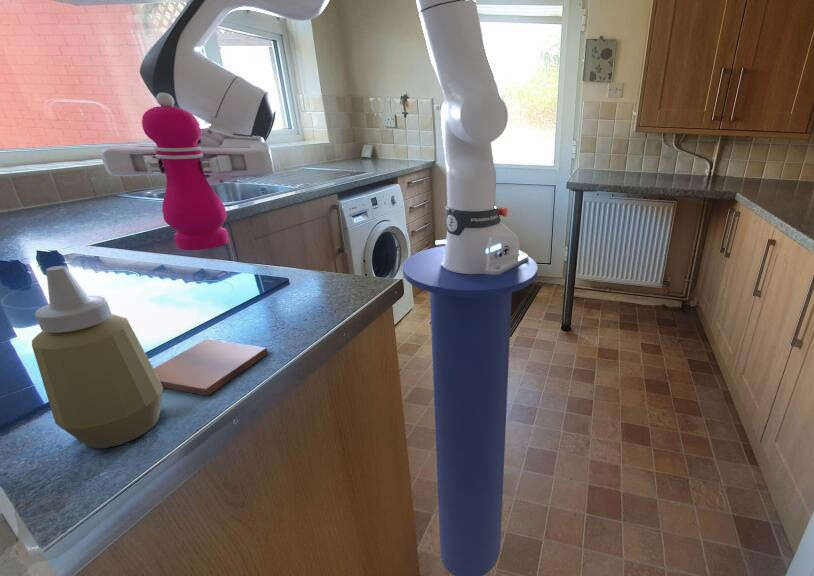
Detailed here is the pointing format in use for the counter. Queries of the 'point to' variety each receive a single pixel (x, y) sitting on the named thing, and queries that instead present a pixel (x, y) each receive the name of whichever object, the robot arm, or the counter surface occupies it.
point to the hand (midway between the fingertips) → (181, 166)
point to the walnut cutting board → (207, 366)
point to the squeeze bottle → (93, 367)
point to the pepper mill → (185, 177)
